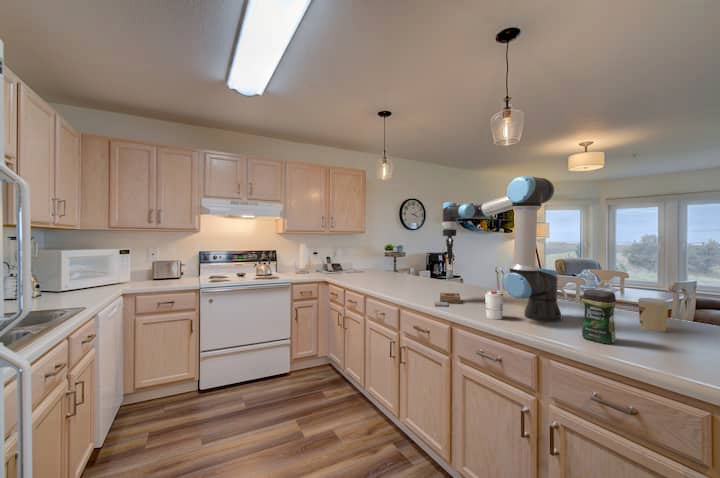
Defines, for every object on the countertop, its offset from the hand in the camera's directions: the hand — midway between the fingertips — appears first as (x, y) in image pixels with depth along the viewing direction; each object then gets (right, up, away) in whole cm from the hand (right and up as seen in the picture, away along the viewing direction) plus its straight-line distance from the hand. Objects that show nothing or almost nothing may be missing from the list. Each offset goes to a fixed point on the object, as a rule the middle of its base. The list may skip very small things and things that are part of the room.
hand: (449, 269), depth 184 cm
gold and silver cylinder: (0, -6, 0) cm, 6 cm away
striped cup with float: (+11, -20, -35) cm, 42 cm away
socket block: (0, -19, 0) cm, 19 cm away
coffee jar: (+36, -20, -67) cm, 79 cm away
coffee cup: (+68, -20, -54) cm, 89 cm away
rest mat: (-7, -19, -8) cm, 22 cm away
